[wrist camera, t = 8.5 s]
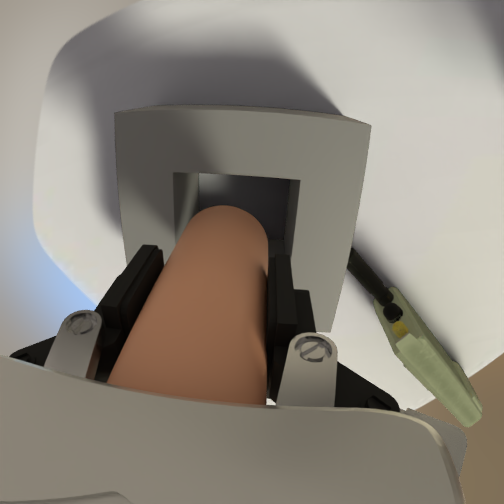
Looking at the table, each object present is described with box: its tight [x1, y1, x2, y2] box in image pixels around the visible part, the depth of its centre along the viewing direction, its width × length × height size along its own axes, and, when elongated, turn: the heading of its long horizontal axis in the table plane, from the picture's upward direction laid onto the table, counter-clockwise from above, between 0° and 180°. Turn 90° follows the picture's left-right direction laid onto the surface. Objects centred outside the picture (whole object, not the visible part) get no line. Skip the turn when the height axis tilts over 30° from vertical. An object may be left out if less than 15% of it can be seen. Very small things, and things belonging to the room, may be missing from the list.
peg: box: [107, 205, 268, 405], centre depth 10 cm, size 4×4×12 cm
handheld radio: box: [347, 248, 482, 427], centre depth 24 cm, size 7×3×25 cm
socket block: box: [115, 105, 371, 332], centre depth 19 cm, size 12×12×6 cm
